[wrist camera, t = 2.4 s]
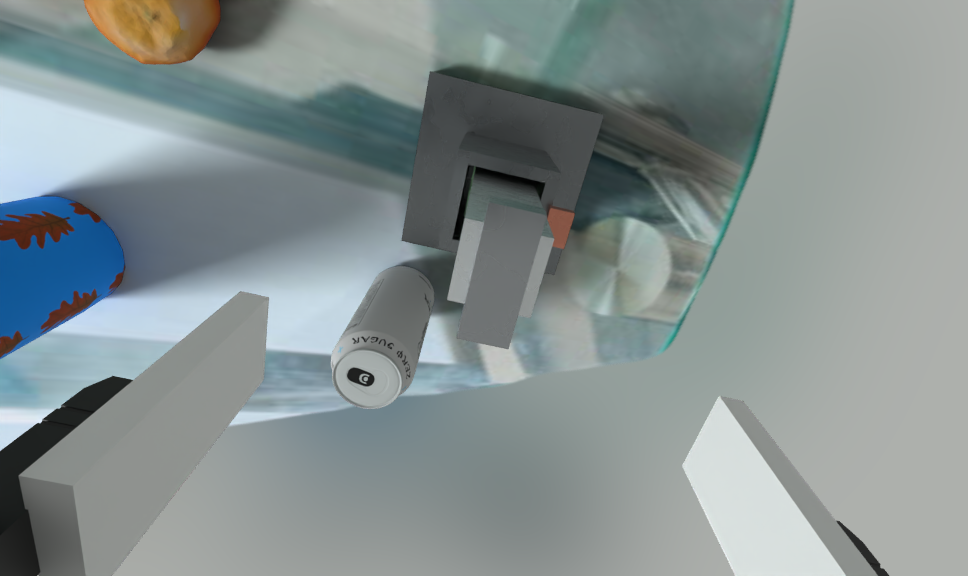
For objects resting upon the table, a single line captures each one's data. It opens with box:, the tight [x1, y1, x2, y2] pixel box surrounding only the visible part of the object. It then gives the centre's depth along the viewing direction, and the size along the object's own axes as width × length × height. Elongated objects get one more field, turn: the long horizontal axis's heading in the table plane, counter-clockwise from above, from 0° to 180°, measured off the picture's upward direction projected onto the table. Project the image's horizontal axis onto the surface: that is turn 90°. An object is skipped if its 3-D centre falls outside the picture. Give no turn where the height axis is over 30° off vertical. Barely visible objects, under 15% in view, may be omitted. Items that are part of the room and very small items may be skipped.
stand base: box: [402, 72, 604, 275], centre depth 36 cm, size 14×14×13 cm
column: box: [447, 166, 554, 349], centre depth 30 cm, size 6×4×21 cm, turn 167°
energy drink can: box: [331, 266, 434, 409], centre depth 40 cm, size 6×6×15 cm
